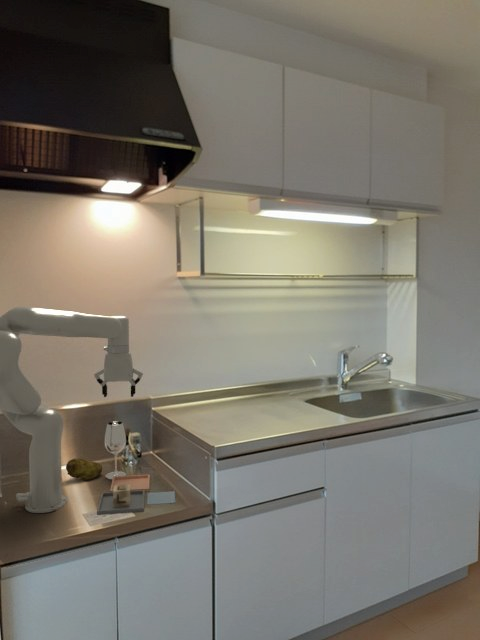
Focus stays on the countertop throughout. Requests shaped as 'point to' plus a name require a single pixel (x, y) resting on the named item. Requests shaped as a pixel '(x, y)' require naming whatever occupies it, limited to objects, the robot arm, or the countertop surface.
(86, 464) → the potato
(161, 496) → the mat
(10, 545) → the countertop surface
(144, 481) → the terracotta tray
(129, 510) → the charcoal tray
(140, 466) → the countertop surface
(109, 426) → the wineglass
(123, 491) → the letter cube
